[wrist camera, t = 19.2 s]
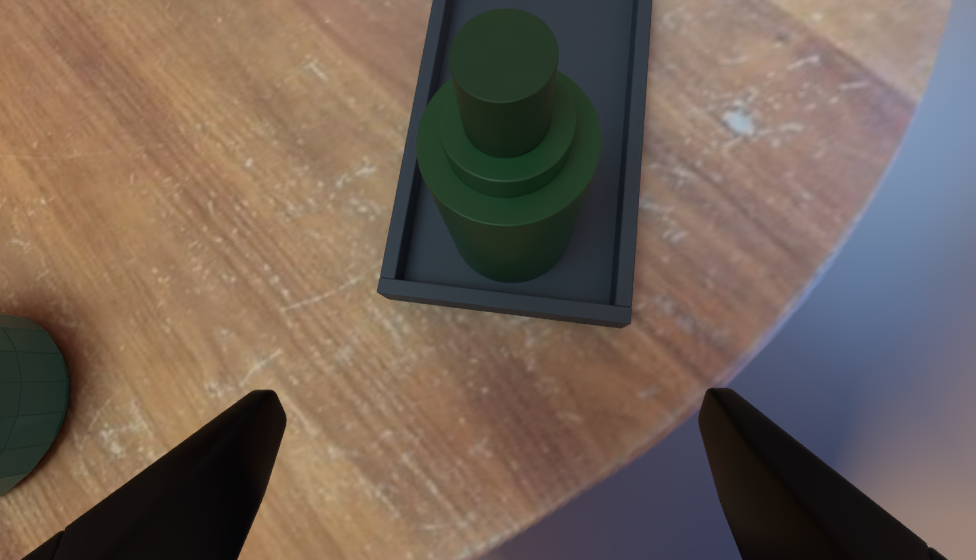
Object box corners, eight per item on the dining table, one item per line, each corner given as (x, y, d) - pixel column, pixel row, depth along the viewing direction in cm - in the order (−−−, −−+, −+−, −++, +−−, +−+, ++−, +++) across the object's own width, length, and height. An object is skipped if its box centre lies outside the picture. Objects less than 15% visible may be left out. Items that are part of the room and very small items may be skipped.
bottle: (566, 288, 23) (627, 178, 10) (447, 278, 23) (360, 161, 11) (574, 175, 24) (636, -48, 11) (460, 168, 25) (398, -52, 12)
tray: (621, 328, 22) (631, 324, 21) (388, 299, 24) (376, 292, 22) (653, -127, 29) (663, -164, 27) (468, -132, 30) (464, -167, 28)
